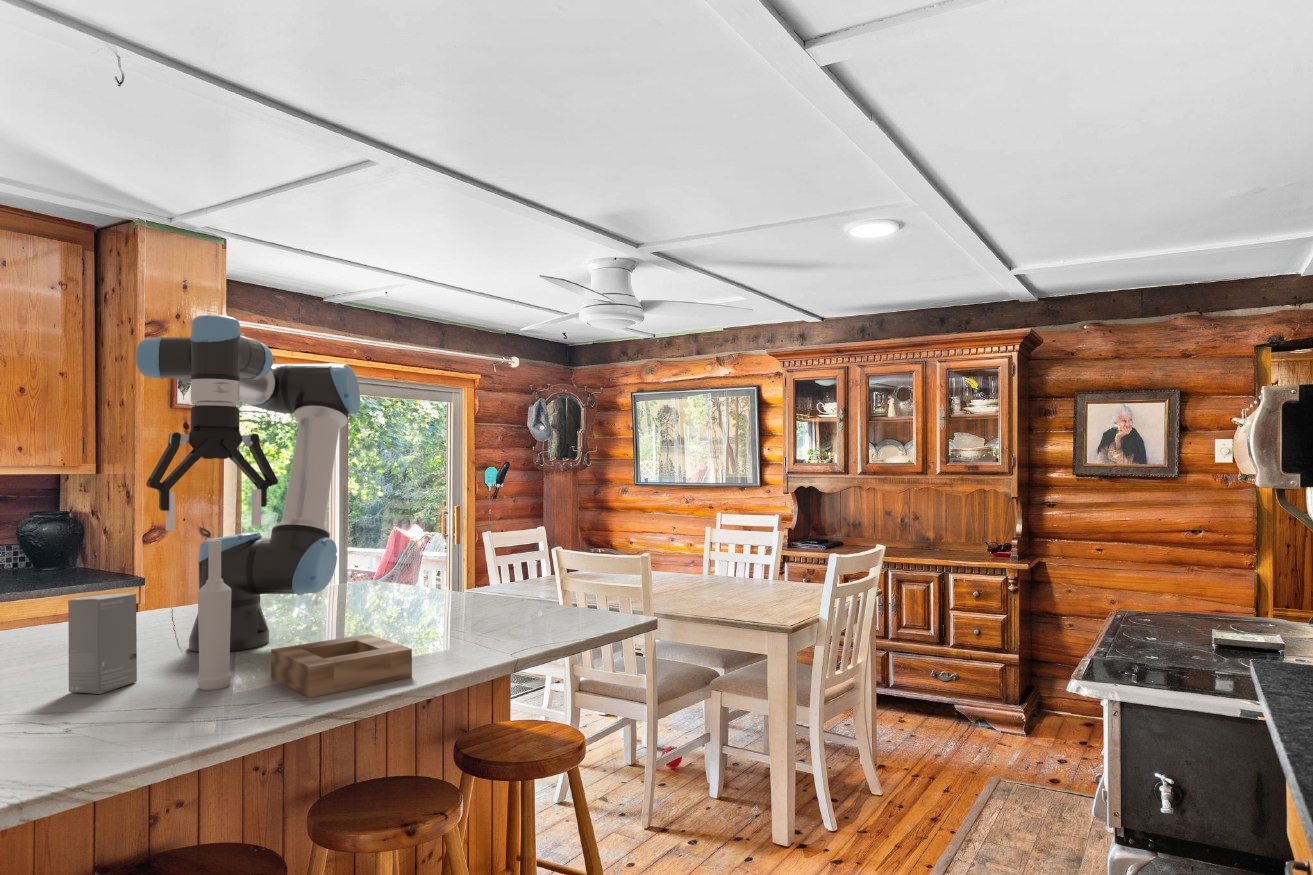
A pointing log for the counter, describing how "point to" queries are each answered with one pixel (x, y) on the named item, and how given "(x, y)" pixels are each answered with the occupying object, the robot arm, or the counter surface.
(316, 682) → the frame
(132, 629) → the skincare box
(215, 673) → the bottle
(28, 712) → the counter surface
